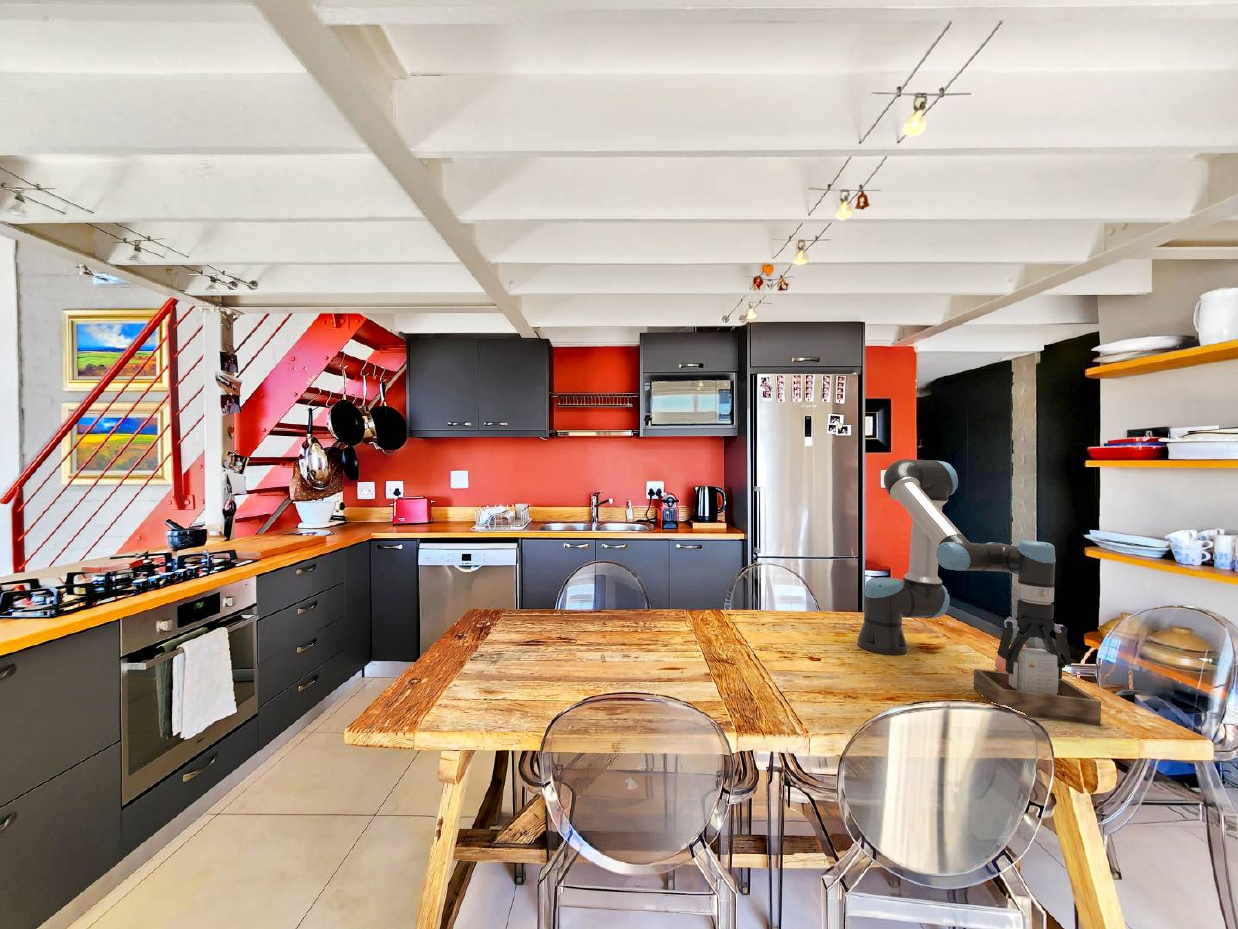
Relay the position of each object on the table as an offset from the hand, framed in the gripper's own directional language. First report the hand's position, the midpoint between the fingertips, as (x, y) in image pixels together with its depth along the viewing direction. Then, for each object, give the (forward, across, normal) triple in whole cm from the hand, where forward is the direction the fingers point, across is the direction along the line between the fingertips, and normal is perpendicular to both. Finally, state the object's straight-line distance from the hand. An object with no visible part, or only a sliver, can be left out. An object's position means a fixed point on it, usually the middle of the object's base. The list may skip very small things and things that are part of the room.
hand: (1032, 688), depth 138 cm
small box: (+1, 0, 0) cm, 1 cm away
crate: (+4, 0, 0) cm, 4 cm away
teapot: (+5, +8, +25) cm, 27 cm away
